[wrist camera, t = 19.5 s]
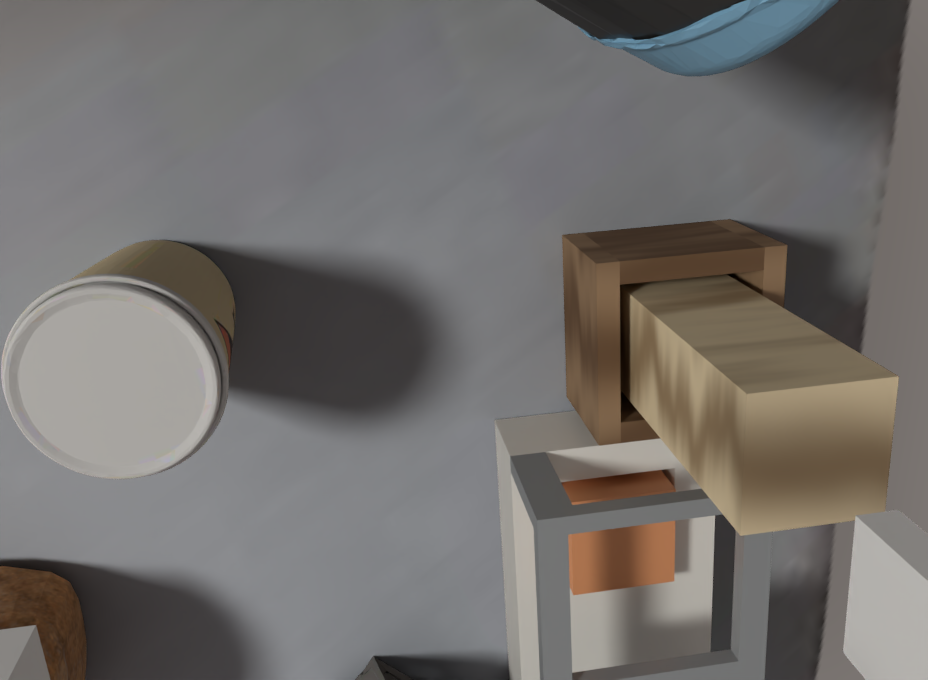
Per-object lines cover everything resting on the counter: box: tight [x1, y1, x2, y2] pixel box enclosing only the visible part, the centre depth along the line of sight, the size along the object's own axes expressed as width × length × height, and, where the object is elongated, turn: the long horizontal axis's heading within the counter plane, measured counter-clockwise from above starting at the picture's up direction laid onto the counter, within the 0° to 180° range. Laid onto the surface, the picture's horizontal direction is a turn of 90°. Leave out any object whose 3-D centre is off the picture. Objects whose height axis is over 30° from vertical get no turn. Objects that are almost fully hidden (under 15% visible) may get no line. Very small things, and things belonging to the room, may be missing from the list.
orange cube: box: [561, 470, 676, 595], centre depth 53 cm, size 6×6×6 cm
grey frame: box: [495, 411, 773, 680], centre depth 52 cm, size 20×12×12 cm, turn 4°
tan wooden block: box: [620, 274, 899, 536], centre depth 43 cm, size 6×6×20 cm
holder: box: [562, 219, 787, 446], centre depth 49 cm, size 10×10×7 cm
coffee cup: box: [1, 240, 235, 479], centre depth 43 cm, size 9×9×12 cm
